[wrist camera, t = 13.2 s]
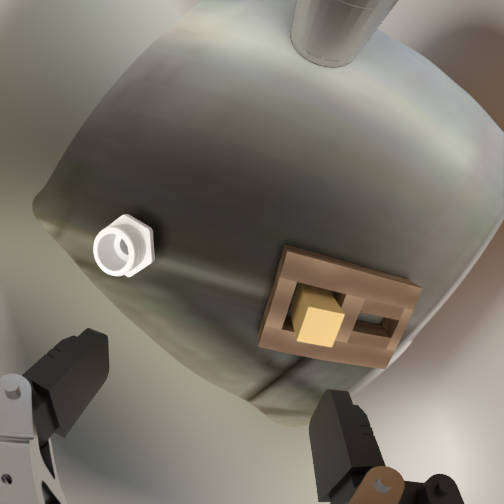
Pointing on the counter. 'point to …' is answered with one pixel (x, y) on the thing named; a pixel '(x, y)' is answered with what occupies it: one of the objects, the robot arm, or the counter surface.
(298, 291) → the square peg
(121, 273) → the pipe fitting
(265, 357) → the counter surface
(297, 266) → the socket block
